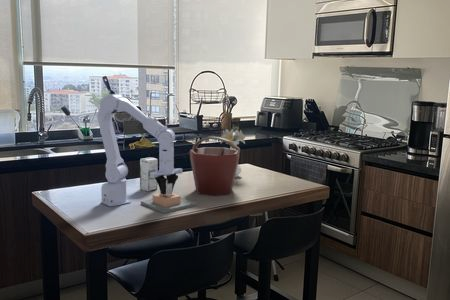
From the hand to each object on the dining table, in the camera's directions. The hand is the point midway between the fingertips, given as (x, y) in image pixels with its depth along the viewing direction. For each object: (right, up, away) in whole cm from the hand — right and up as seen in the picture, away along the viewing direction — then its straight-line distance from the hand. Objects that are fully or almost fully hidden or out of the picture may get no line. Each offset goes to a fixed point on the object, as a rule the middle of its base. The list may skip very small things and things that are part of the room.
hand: (166, 193), depth 181 cm
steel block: (0, -4, +1) cm, 4 cm away
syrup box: (-11, -1, +26) cm, 28 cm away
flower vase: (+27, +3, +57) cm, 64 cm away
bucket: (+18, -2, +25) cm, 31 cm away
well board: (0, -5, +1) cm, 5 cm away
